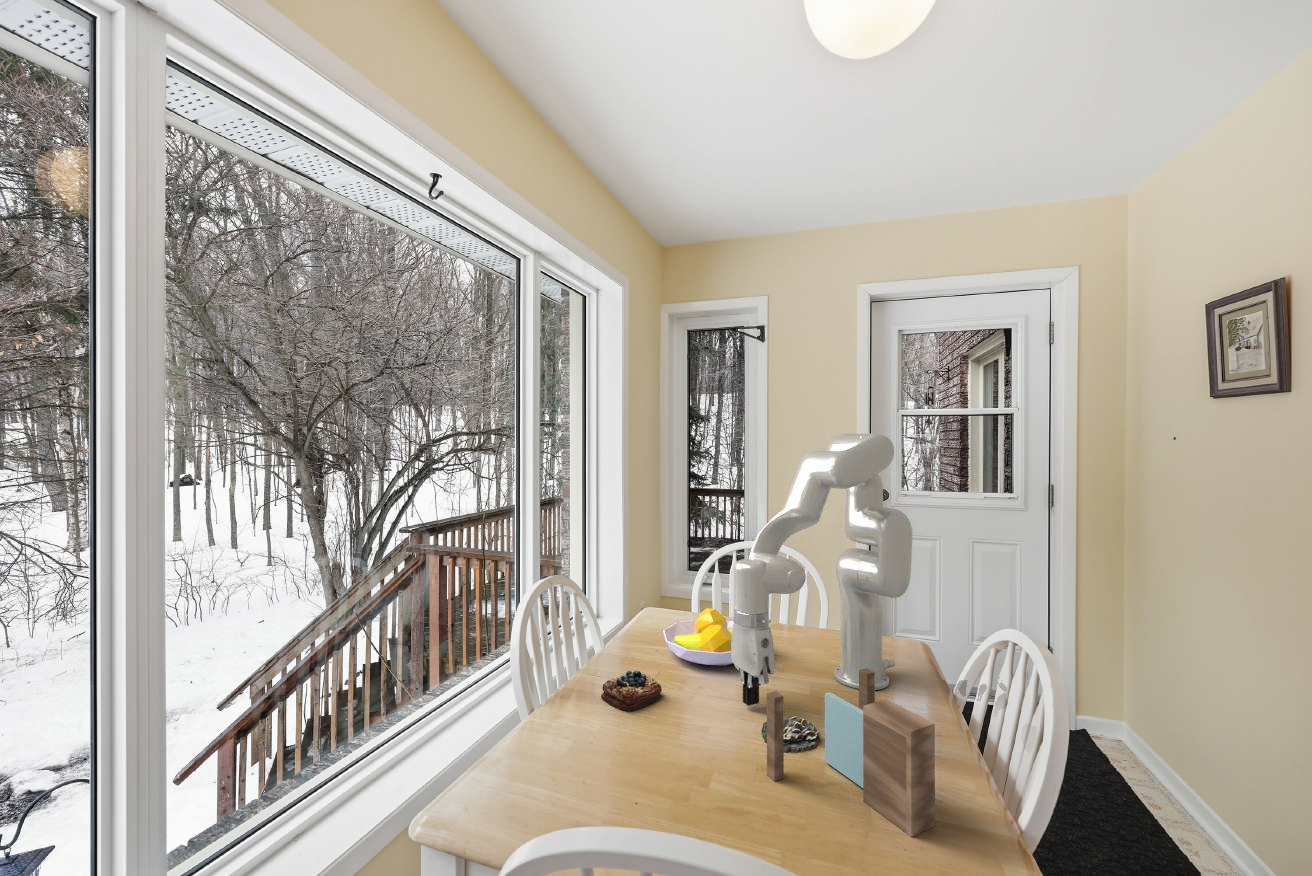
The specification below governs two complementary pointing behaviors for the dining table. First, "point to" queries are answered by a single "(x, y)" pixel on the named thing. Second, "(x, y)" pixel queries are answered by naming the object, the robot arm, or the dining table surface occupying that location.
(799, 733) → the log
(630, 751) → the dining table surface
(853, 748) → the door panel
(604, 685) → the pastry
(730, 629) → the fruit bowl
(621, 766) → the dining table surface
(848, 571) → the robot arm
